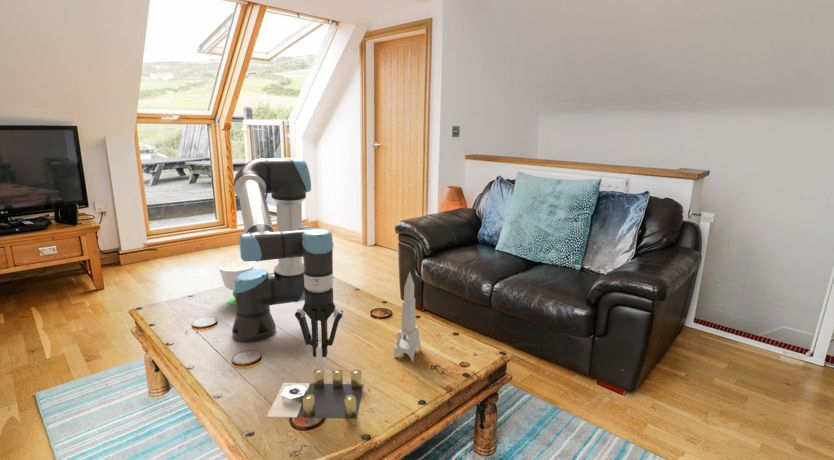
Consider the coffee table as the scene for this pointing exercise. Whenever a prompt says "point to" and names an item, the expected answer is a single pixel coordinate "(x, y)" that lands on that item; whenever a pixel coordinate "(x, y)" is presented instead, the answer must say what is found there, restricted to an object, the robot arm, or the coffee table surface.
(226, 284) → the cup
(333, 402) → the mat
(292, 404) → the nut
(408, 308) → the sculpture
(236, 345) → the coffee table surface
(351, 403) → the spacers
